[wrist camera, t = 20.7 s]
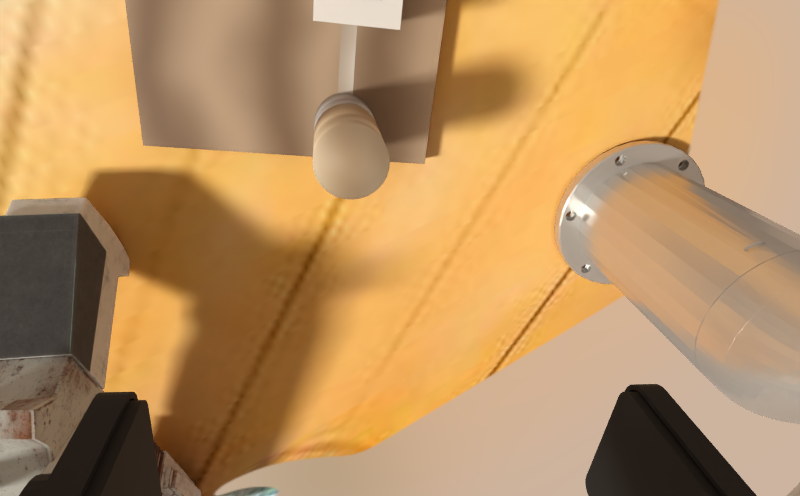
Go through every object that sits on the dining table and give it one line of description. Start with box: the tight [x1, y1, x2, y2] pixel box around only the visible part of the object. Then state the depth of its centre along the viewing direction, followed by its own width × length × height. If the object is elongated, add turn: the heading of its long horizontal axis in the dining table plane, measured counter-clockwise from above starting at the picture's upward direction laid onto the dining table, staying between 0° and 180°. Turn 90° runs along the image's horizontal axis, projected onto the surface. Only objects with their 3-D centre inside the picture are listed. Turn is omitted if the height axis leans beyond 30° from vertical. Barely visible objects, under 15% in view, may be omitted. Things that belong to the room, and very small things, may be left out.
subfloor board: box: [125, 0, 447, 164], centre depth 31 cm, size 19×17×1 cm
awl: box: [313, 93, 390, 199], centre depth 30 cm, size 4×4×9 cm
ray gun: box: [0, 197, 202, 496], centre depth 37 cm, size 7×32×20 cm, turn 179°
